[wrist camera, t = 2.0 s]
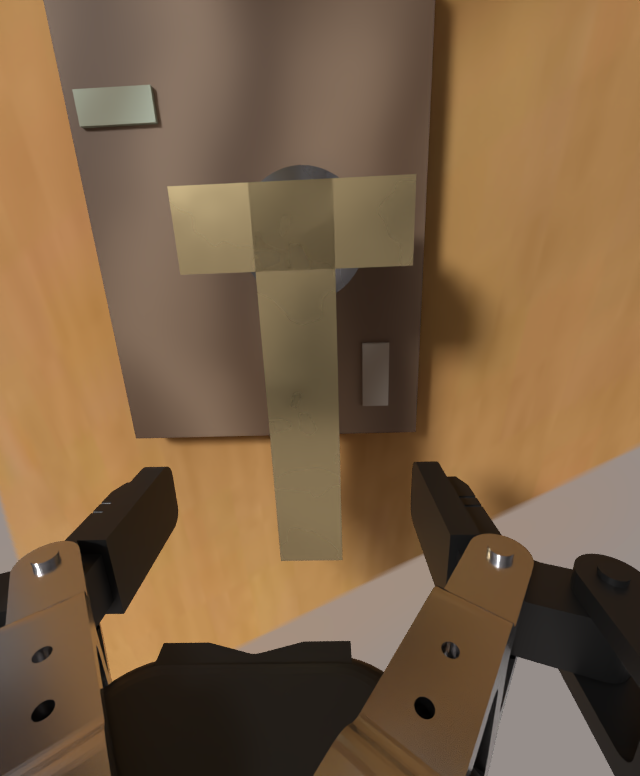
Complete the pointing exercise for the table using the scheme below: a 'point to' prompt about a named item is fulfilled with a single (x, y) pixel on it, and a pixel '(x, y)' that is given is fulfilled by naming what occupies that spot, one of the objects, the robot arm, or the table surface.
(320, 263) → the t key
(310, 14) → the plate
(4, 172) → the table surface
